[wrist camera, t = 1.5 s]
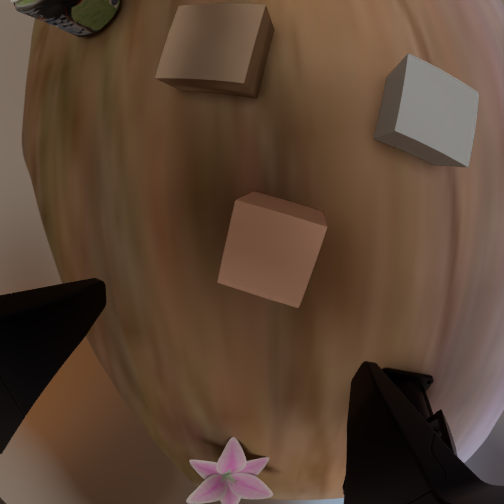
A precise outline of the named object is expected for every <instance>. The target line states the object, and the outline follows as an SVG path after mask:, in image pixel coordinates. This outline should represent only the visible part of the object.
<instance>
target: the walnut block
mask: <svg viewBox="0 0 504 504" xmlns="http://www.w3.org/2000/svg"><path fill="white" fill-rule="evenodd" d="M273 33H274V28H273V24H272V21H271V18H270V16H269V13H268V10H267V7H266V5H261V4H241V3H216V4H195V5H183V6H179V7H178V10H177V12H176V15H175V18H174V20H173V23H172V26H171V29H170V31H169V34H168V37H167V40H166V43H165V46H164V49H163V53H162V56H161V59H160V62H159V66H158V69H157V73H156V76H155V79H158V80H160V81H162V82H164V83H166V84H169V85H171V86H173V87H175V88H177V89H179V90H185V91H200V92H212V93H222V94H230V95H238V96H245V97H252V98H257V96H258V91H259V87H260V83H261V79H262V75H263V71H264V67H265V63H266V59H267V55H268V52H269V48H270V44H271V40H272V36H273Z"/></svg>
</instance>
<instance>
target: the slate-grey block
mask: <svg viewBox="0 0 504 504" xmlns="http://www.w3.org/2000/svg"><path fill="white" fill-rule="evenodd" d="M478 99H479V93H478V92H477V91H475V90H474V89H472V88H471V87H469V86H468V85H466V84H465V83H463V82H461V81H460V80H458V79H456V78H455V77H453V76H451V75H450V74H448V73H446V72H444V71H442V70H441V69H439V68H437V67H435V66H433V65H431V64H429V63H427V62H425V61H423V60H421V59H419V58H417V57H415V56H413V55H410V54H407V55H406V56H405V58H404V59H403V60H402V61H401V62H400V63H399V64H398V65H397V66H396V67H395V69H394V70H393V71H392V72H391V73H390V74H389V75H388V76H387V78H386V83H385V89H384V94H383V99H382V104H381V108H380V113H379V117H378V122H377V126H376V130H375V134H374V139H375V140H377V141H380V142H382V143H385V144H388V145H390V146H392V147H395V148H397V149H400V150H402V151H404V152H407V153H409V154H411V155H413V156H416V157H418V158H420V159H422V160H424V161H426V162H428V163H430V164H433V165H440V166H456V167H468V166H469V161H470V156H471V151H472V146H473V140H474V134H475V127H476V119H477V110H478Z"/></svg>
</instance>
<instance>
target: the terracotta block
mask: <svg viewBox="0 0 504 504" xmlns="http://www.w3.org/2000/svg"><path fill="white" fill-rule="evenodd" d="M326 230H327V224H326V220H325V217H324V213H323V211H320V210H317V209H314V208H311V207H307V206H304V205H301V204H297V203H294V202H291V201H287V200H284V199H280V198H277V197H273V196H270V195H266V194H263V193H259V192H255V191H253V192H251V193H249V194H247V195H245V196H243V197H241V198H239V199H237V200H235V204H234V208H233V213H232V217H231V221H230V226H229V230H228V235H227V239H226V244H225V248H224V253H223V257H222V262H221V267H220V271H219V276H218V281H217V283H220V284H223V285H226V286H229V287H232V288H235V289H238V290H241V291H245V292H248V293H251V294H254V295H257V296H260V297H263V298H267V299H270V300H273V301H276V302H280V303H283V304H286V305H289V306H293V307H296V308H299V306H300V304H301V301H302V298H303V296H304V293H305V290H306V288H307V285H308V282H309V279H310V277H311V274H312V271H313V268H314V265H315V263H316V260H317V257H318V254H319V251H320V248H321V245H322V242H323V239H324V236H325V233H326Z"/></svg>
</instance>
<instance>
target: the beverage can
mask: <svg viewBox="0 0 504 504" xmlns="http://www.w3.org/2000/svg"><path fill="white" fill-rule="evenodd" d="M11 2H13V3H14V6H15V9H16V10H17V11H18V12H20V13H23V14H26V15H29V16H31V17H34V18H36V19H39V20H41V21H44V22H46V23H49V24H51V25H53V26H56V27H58V28H60V29H62V30H65V31H67V32H69V33H71V34H73V35H75V36H78V37H85V36H89V35H91V34H93V33H95V32H97V31H98V30H100V29H101V28H102V27H104V26H105V25H106V24H107V23H108V22H109V21H110V20H111V19H112V17H113V16H114V15H115V13H116V11H117V9H118V7H119V4H120V0H11Z"/></svg>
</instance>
